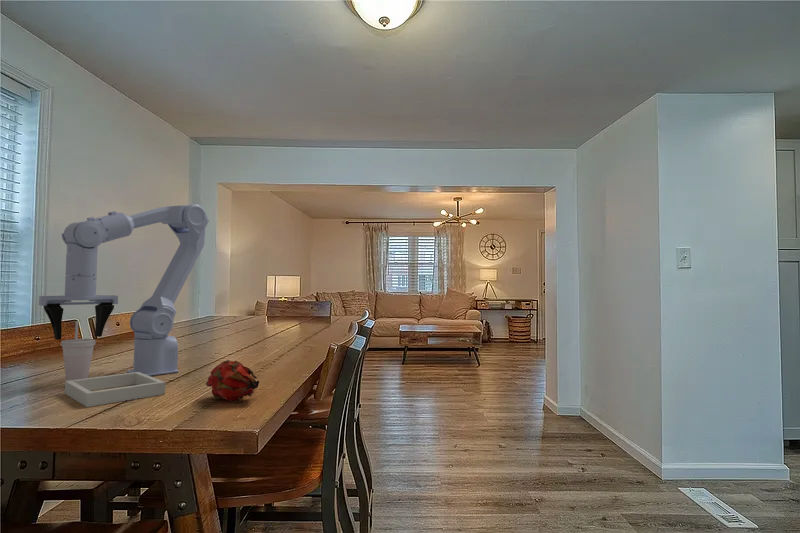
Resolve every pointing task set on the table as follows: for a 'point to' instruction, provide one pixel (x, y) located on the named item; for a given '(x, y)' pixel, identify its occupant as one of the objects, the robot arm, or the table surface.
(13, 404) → the table surface
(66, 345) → the smoothie
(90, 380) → the white shallow square frame
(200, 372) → the table surface
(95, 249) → the robot arm
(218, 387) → the dragon fruit
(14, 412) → the table surface
